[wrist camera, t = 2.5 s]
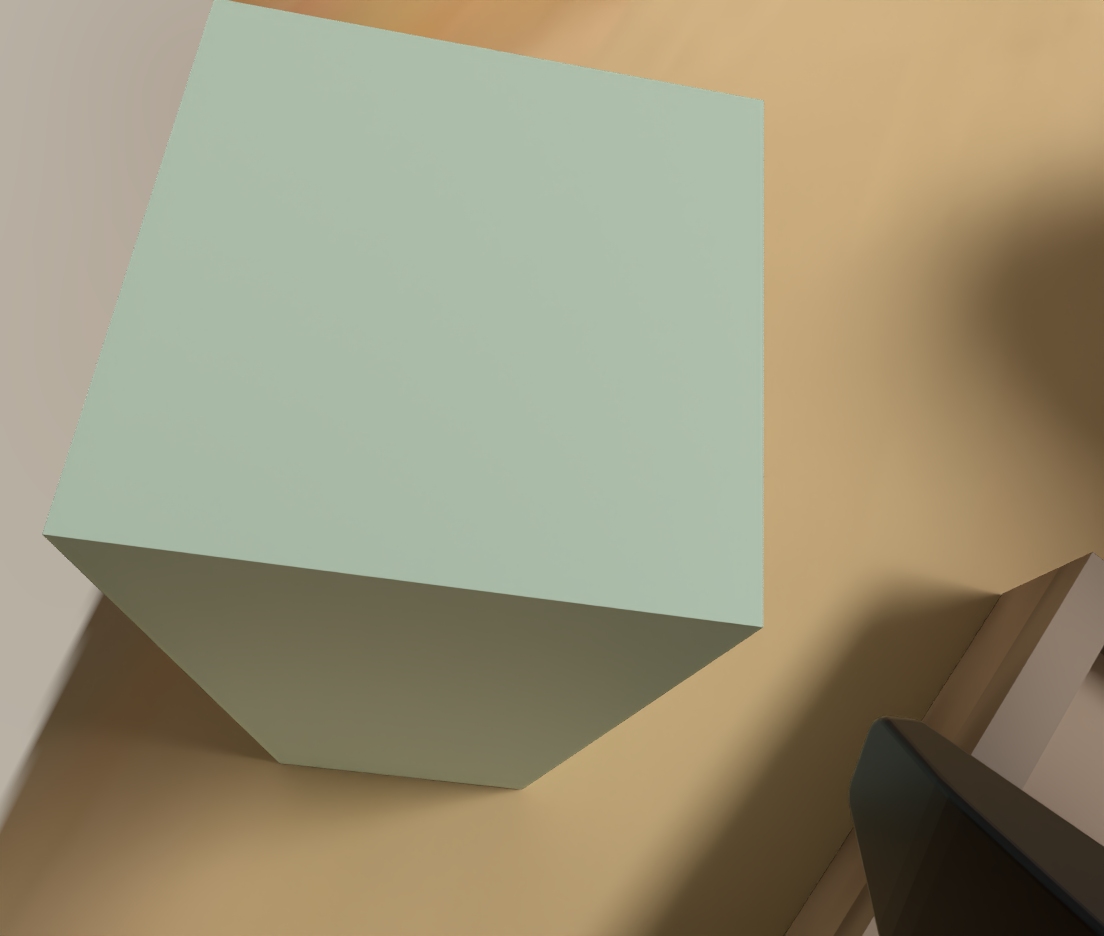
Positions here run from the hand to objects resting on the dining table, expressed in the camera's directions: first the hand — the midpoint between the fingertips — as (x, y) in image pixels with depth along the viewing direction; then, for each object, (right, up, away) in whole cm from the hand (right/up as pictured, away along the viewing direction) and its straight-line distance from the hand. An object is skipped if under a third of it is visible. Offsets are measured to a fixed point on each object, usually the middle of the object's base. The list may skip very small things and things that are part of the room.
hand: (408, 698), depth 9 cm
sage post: (-1, -2, +10) cm, 10 cm away
